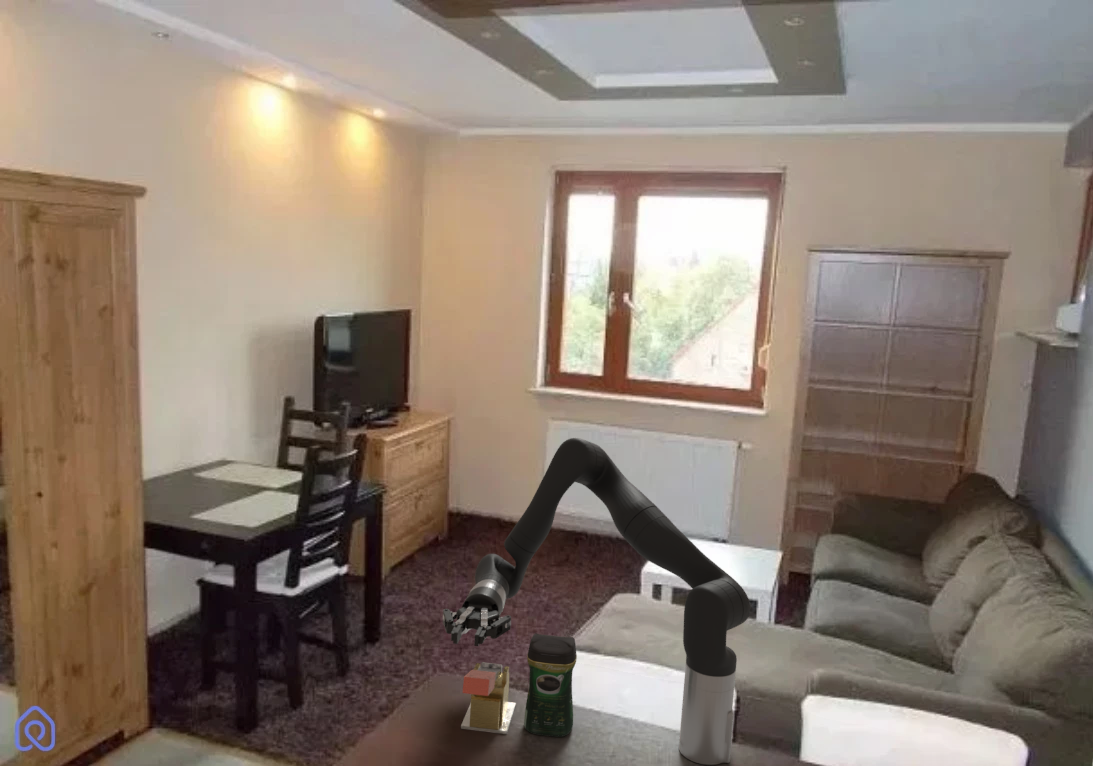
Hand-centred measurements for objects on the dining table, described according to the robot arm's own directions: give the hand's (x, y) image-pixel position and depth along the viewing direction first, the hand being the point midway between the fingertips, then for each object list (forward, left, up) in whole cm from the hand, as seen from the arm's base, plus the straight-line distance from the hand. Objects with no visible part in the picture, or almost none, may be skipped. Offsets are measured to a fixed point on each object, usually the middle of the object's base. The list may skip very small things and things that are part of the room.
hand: (466, 639), depth 147 cm
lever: (-3, -15, -12) cm, 20 cm away
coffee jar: (-15, -13, -22) cm, 30 cm away
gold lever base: (-3, -14, -22) cm, 26 cm away
